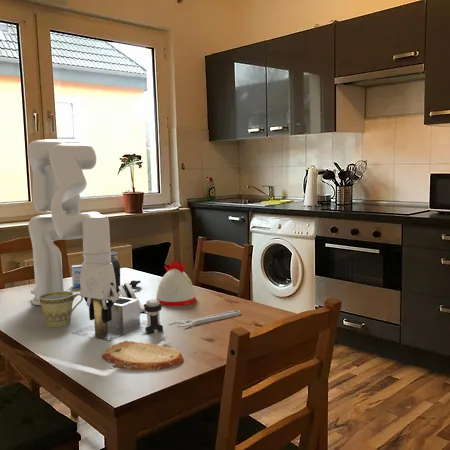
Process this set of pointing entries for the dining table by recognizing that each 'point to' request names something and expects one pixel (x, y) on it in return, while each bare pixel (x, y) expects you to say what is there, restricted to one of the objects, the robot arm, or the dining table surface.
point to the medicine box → (76, 275)
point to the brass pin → (99, 317)
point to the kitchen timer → (175, 287)
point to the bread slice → (142, 356)
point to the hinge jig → (118, 321)
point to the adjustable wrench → (205, 319)
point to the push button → (153, 317)
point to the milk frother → (117, 271)
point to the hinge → (130, 295)
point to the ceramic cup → (58, 307)
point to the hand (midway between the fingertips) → (100, 319)
